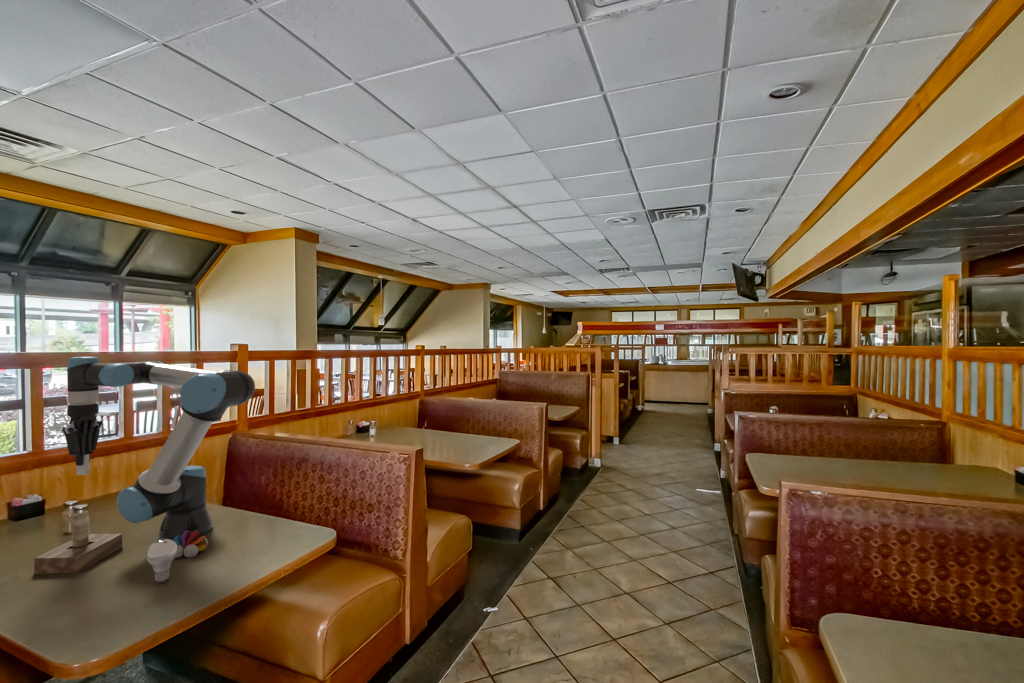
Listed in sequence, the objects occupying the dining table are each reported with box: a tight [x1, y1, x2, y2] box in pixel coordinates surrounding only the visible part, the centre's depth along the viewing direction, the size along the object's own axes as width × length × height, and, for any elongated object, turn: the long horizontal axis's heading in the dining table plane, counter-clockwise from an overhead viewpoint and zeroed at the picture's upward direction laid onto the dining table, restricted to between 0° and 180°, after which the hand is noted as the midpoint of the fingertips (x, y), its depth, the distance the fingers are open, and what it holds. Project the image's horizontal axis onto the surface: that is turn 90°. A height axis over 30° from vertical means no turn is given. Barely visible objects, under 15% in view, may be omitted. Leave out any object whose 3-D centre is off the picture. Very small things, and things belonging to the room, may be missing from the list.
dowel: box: [71, 511, 90, 549], centre depth 139 cm, size 4×4×14 cm
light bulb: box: [145, 538, 178, 584], centre depth 126 cm, size 7×7×12 cm
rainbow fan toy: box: [174, 531, 209, 559], centre depth 143 cm, size 8×10×7 cm
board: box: [33, 533, 123, 575], centre depth 139 cm, size 12×16×4 cm
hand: (82, 474), depth 149 cm, fingers closed
